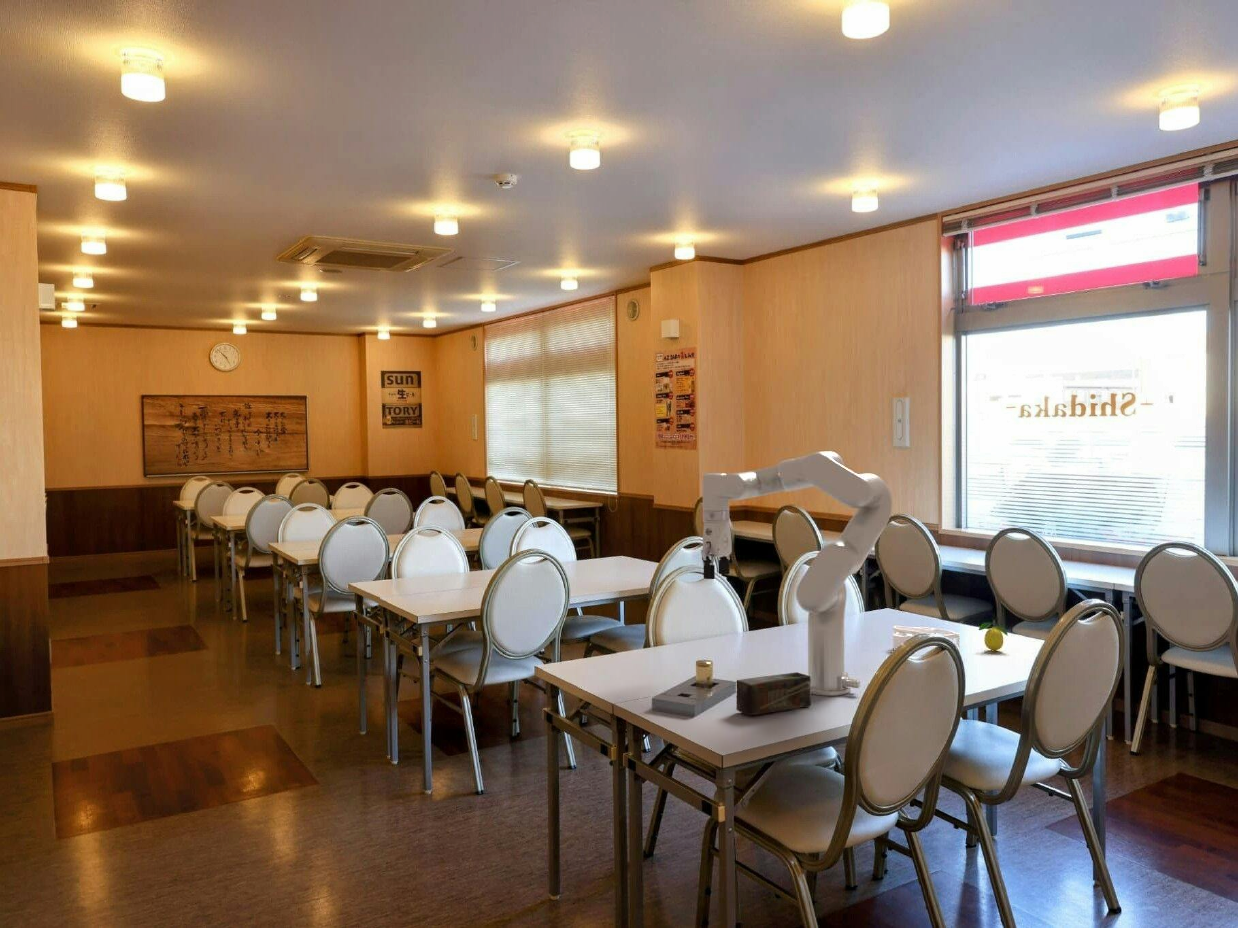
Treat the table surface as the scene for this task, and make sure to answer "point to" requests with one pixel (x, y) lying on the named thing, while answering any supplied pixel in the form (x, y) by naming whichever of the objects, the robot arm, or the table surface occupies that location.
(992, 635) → the lemon
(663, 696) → the block
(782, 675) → the beverage carton
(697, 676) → the cylinder
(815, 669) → the robot arm
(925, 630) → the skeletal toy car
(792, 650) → the table surface
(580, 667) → the table surface
